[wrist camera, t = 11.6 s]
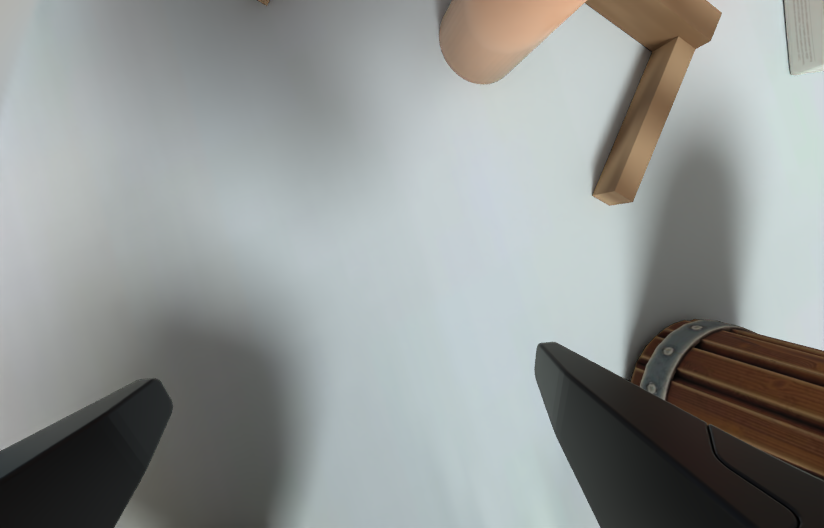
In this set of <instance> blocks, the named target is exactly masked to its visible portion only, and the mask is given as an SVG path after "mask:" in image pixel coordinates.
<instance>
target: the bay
mask: <svg viewBox="0 0 824 528" xmlns="http://www.w3.org/2000/svg"><path fill="white" fill-rule="evenodd" d="M257 1H259V2H261V3H263V4H264V5H266V6H267V5H268V3H269V1H270V0H257ZM585 3H586V4H587V5H588V6H590V7H591V8H593V9H594V10H595V11H597V12H598V13H599V14H601V15H602V16H604V17H605V18H606V19H608V20H609V21H610V22H612V23H613V24H615V25H616V26H617V27H619V28H620V29H621V30H623V31H624V32H625V33H627V34H628V35H630V36H631V37H632V38H634V39H635V40H636V41H638V42H639V43H641V44H642V45H643V46H645V47H646V48H647V49H649V50H650V51H652V54H651V56H650V59H649V61H648V63H647V66H646V68H645V71H644V73H643V75H642V78H641V80H640V83H639V85H638V87H637V90H636V92H635V94H634V97H633V99H632V102H631V104H630V106H629V109H628V111H627V114H626V116H625V118H624V121H623V123H622V126H621V128H620V130H619V133H618V135H617V138H616V140H615V142H614V145H613V147H612V150H611V152H610V154H609V157H608V159H607V162H606V164H605V166H604V169H603V171H602V173H601V176H600V178H599V181H598V183H597V185H596V188H595V190H594V193H593V195H592V196H594V197H596V198H597V199H599V200H601V201H602V202H604V203H606V204H608V205H609V206H610V205H616V204H623V203H629V202H633V200H634V198H635V195H636V193H637V190H638V188H639V185H640V183H641V181H642V178H643V176H644V173H645V171H646V168H647V166H648V163H649V161H650V159H651V156H652V154H653V151H654V149H655V146H656V144H657V141H658V139H659V137H660V134H661V132H662V129H663V127H664V124H665V122H666V120H667V117H668V115H669V112H670V110H671V107H672V105H673V102H674V100H675V98H676V95H677V93H678V90H679V88H680V85H681V83H682V80H683V78H684V76H685V73H686V71H687V68H688V66H689V63H690V61H691V58H692V56H693V54H694V51H695V49H696V48H698V47H700V46H702V45H704V44H706V43H708V42H710V41H711V39H712V36H713V34H714V31H715V29H716V27H717V24H718V22H719V19H720V17H721V14H722V13H721V12H720V11H719V10H718V9H716V8H715V7H714V6H713V5H711V4H710V3H709V2H708V1H706V0H587V1H586V2H585Z"/></svg>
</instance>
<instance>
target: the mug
mask: <svg viewBox="0 0 824 528" xmlns="http://www.w3.org/2000/svg"><path fill="white" fill-rule="evenodd" d="M631 383H633V384H635V385H637V386H639V387H641V388H643V389H645V390H646V391H648V392H650V393H652V394H654V395H656V396H658V397H660V398H661V399H663V400H665V401H667V402H669V403H671V404H673V405H675V406H677V407H678V408H680V409H682V410H684V411H686V412H688V413H690V414H692V415H693V416H695V417H697V418H699V419H701V420H703V421H705V422H706V423H707V426H708V425H709V424H711V425H714V426H715V427H717V428H719V429H721V430H723V431H725V432H727V433H729V434H730V435H732V436H734V437H736V438H738V439H740V440H742V441H744V442H746V443H748V444H750V445H752V446H754V447H756V448H758V449H760V450H762V451H764V452H765V453H767V454H769V455H771V456H774V457H776V458H778V459H780V460H782V461H784V462H786V463H788V464H790V465H792V466H794V467H797V468H799V469H801V470H803V471H805V472H807V473H809V474H811V475H813V476H815V477H817V478H820V479H822V480H824V351H822V350H818V349H814V348H810V347H806V346H803V345H799V344H795V343H791V342H787V341H783V340H779V339H775V338H771V337H767V336H764V335H760V334H757V333H755V332H753V331H750V330H748V329H745V328H743V327H739V326H735V325H732V324H728V323H724V322H720V321H714V320H697V319H693V320H691V321H686V320H683V321H680V322H677V323H674V324H672V325H670V326H669V327H667V328H665V329H664V330H662V331H661V332H660V333H659V334H658V335H657V336H655V337H654V338H653V339H652V341H651V342H650V343H649V344H648V345H647V346H646V347H645V349H644V350H643V352H642V354H641V356H640V357H639V359H638V361H637V362H636V366H635V369H634V372H633V375H632V378H631Z"/></svg>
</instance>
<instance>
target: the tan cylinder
mask: <svg viewBox="0 0 824 528" xmlns="http://www.w3.org/2000/svg"><path fill="white" fill-rule="evenodd" d="M586 1H587V0H452V1H451V3H450V5H449V7H448V9H447V11H446V13H445V14H444V16H443V19H442V21H441V25H440V30H439V41H440V47H441V50H442V53H443V56H444V58H445V60H446V62H447V63H448V65H449V66H450V67H451V68H452V70H453V71H454V72H455V73H456V74H458V75H459V76H460V77H462V78H463V79H465V80H467V81H469V82H472V83H476V84H490V83H494V82H497V81H499V80H501V79H502V78H504V77H505V76H506V75H507V74H508V73H509V72H510V71H511V70H513V69H514V68H515V67H516V66H517V65H518V64H519V63H520V62H521V61H522V60H523V59H524V58H525V57H527V56H528V55H529V54H530V53H531V52H532V51H533V50H534V49H535V48H536V47H537V46H538V45H539V44H541V43H542V42H543V41H544V40H545V39H546V38H547V37H548V36H549V35H550V34H551V33H552V32H553V31H555V30H556V29H557V28H558V27H559V26H560V25H561V24H562V23H563V22H564V21H565V20H566V19H567V18H569V17H570V16H571V15H572V14H573V13H574V12H575V11H576V10H577V9H578V8H579V7H580V6H581V5H583V4H584V3H585V2H586Z"/></svg>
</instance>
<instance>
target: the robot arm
mask: <svg viewBox="0 0 824 528" xmlns="http://www.w3.org/2000/svg"><path fill="white" fill-rule="evenodd" d="M535 377H536V381H537V384H538V387H539V390H540V393H541V395H542V398H543V401H544V404H545V407H546V410H547V413H548V416H549V419H550V421H551V424H552V427H553V430H554V432H555V435H556V437H557V439H558V441H559V443H560V445H561V447H562V449H563V452H564V454H565V456H566V458H567V460H568V462H569V464H570V466H571V468H572V470H573V472H574V474H575V476H576V478H577V480H578V482H579V484H580V486H581V488H582V491H583V493H584V495H585V497H586V499H587V501H588V503H589V505H590V507H591V509H592V511H593V513H594V515H595V517H596V519H597V521H598V523H599V525H600V527H601V528H824V480H822V479H820V478H817V477H815V476H813V475H811V474H809V473H807V472H805V471H803V470H801V469H799V468H797V467H794V466H792V465H790V464H788V463H786V462H784V461H782V460H780V459H778V458H776V457H774V456H771V455H769V454H767V453H765V452H764V451H762V450H760V449H758V448H756V447H754V446H752V445H750V444H748V443H746V442H744V441H742V440H740V439H738V438H736V437H734V436H732V435H730V434H729V433H727V432H725V431H723V430H721V429H719V428H717V427H715V426H714V425H711V424H709V425H708V426H707V423H706V422H705V421H703V420H701V419H699V418H697V417H695V416H693V415H692V414H690V413H688V412H686V411H684V410H682V409H680V408H678V407H677V406H675V405H673V404H671V403H669V402H667V401H665V400H663V399H661V398H660V397H658V396H656V395H654V394H652V393H650V392H648V391H646V390H645V389H643V388H641V387H639V386H637V385H635V384H633V383H631V382H630V381H628V380H626V379H624V378H622V377H620V376H618V375H616V374H615V373H613V372H611V371H609V370H607V369H605V368H603V367H601V366H600V365H598V364H596V363H594V362H592V361H590V360H588V359H586V358H584V357H583V356H581V355H579V354H577V353H575V352H573V351H571V350H569V349H568V348H566V347H564V346H562V345H560V344H558V343H556V342H546V343H539V344H538V346H537V350H536V359H535ZM172 408H173V405H172V401H171V399H170V397H169V395H168V393H167V392H166V390H165V388H164V386H163V385H162V383H161V381H160V380H158V379H156V378H150V379H140V380H137V381H135V382H133V383H131V384H129V385H127V386H126V387H124V388H122V389H120V390H118V391H116V392H114V393H112V394H110V395H108V396H106V397H104V398H102V399H100V400H98V401H97V402H95V403H93V404H91V405H89V406H87V407H85V408H83V409H81V410H79V411H77V412H75V413H73V414H71V415H69V416H67V417H66V418H64V419H62V420H60V421H58V422H56V423H54V424H52V425H50V426H48V427H46V428H44V429H42V430H40V431H38V432H37V433H35V434H33V435H31V436H29V437H27V438H25V439H23V440H21V441H19V442H17V443H15V444H13V445H11V446H9V447H8V448H6V449H4V450H2V451H0V528H114V527H115V525H116V523H117V522H118V520H119V518H120V516H121V514H122V513H123V511H124V509H125V507H126V506H127V504H128V502H129V500H130V498H131V497H132V495H133V493H134V491H135V490H136V488H137V486H138V484H139V482H140V481H141V479H142V477H143V475H144V473H145V471H146V469H147V467H148V465H149V463H150V461H151V459H152V456H153V454H154V452H155V450H156V447H157V445H158V443H159V441H160V438H161V436H162V434H163V431H164V429H165V427H166V425H167V422H168V420H169V418H170V416H171V413H172Z"/></svg>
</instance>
